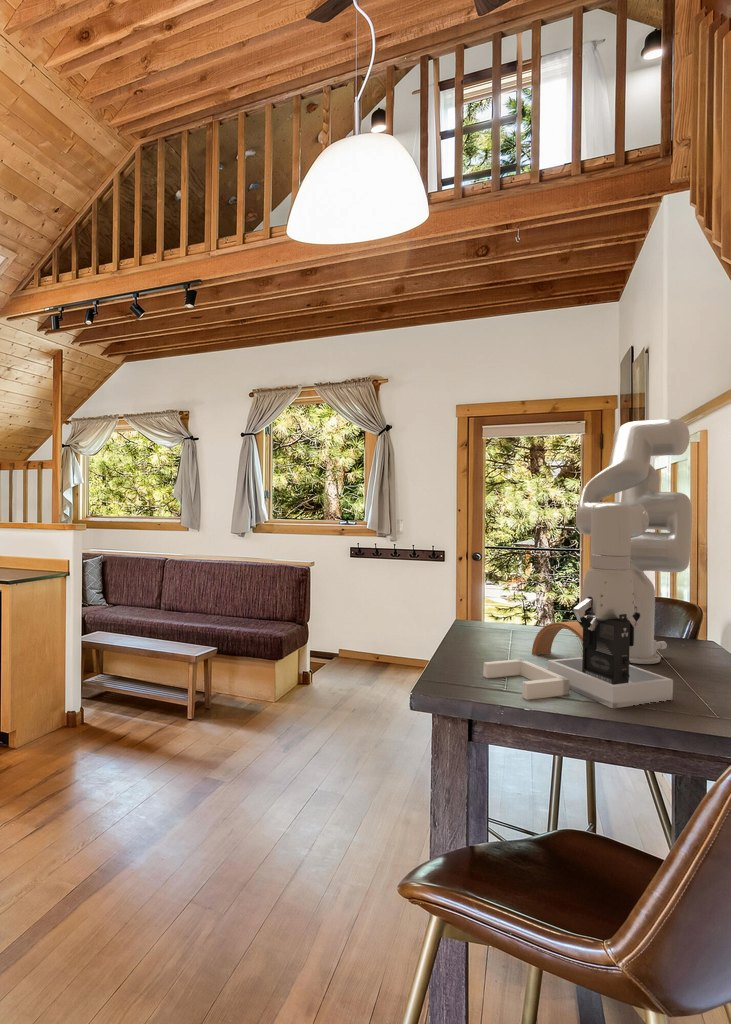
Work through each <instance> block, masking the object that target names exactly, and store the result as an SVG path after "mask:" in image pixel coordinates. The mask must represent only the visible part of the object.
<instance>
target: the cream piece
mask: <svg viewBox="0 0 731 1024" xmlns="http://www.w3.org/2000/svg"><path fill="white" fill-rule="evenodd" d="M482 669H483V671H482V672H483V673H482V676H483V677H484V678H486V679H492V678H495V679H496V678H503V677H511V676H512V677H513V676H514V677H515V676H522V677H524V678H526V679H528V680H527V681H526V680H525V681H524V680H523V681H522V687H521V688H522V691H521V698H523V699H525V700H527V701H528V700H536V699H544V698H553V697H562V696H569V695H570V689H569V679H567V678H565V677H563V676H560V675H558V674H556V673H553V672H551V671H549V670H547V669H546V668H544V667H541V666H540V665H537V664H534V663H532V662H530V661H527V660H526V659H523V658H518V659H507V660H496V661H484V662H483V668H482Z"/></svg>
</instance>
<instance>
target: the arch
mask: <svg viewBox="0 0 731 1024" xmlns="http://www.w3.org/2000/svg"><path fill="white" fill-rule="evenodd" d="M564 629H566V630H568V631H570V632H571V633H573V634H574V635H576V637H578V639H579V640H580V641H581V642H582V643H583V628H581V627H580V624H579V623H578V621H577V620H575V621H574V620H573V621H572V620H570V621H559V622H552V623H548V624H546V625H545V626H543V627H542V628H541V629H540V630H539V632H538V633H537V634H536V636H535V638H534V641H533V644H532V648H531V655H533V656H538V655H540V654H541V655H549V654H551V653H552V646H553V643H554V640H555V638H556V637H557V635H558V634H559V632H560V631H562V630H564ZM548 653H549V654H548Z"/></svg>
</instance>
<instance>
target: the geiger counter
mask: <svg viewBox="0 0 731 1024" xmlns="http://www.w3.org/2000/svg"><path fill="white" fill-rule="evenodd" d="M622 617H624V619H622ZM592 620H593V619H591V620H590V623H591V621H592ZM594 630H596V631H597V649H596V650H590V649H588V648H585V647H583V646H582V672H583V673H585V674H588V675H590V676H593V677H595V678H598V679H600V680H603V681H605V682H608V683H610V684H613V685H615V684H623V683H629V677H630V675H629V665H631V664H630V660H629V648H630V621H629V620H627V614H620V615H619V619H610V620H603V621H601V620H600V621H599V623H598V624H597V626H596V627H595V629H594Z"/></svg>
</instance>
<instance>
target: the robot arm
mask: <svg viewBox="0 0 731 1024" xmlns="http://www.w3.org/2000/svg"><path fill="white" fill-rule="evenodd" d="M612 436H613V437H612V441H613V442H612V443H613V444H612V448H611V449H612V450H611V454H610V458H609V462H608V466H607V467H606V468H604V469H602V470H601V471H599V473H596V475H595V476H593V477H592V478H591V479H590V480H589V481H588V482H587V483H586V484H585V485H584V487H583V489H582V491H581V492H580V497H579V500H578V503H577V508H576V511H575V526H576V528H577V530H578V532H580V533H581V534H582V535H585V536H589V537H590V553H589V554H590V556H589V557H590V558H589V569H586V572H585V576H584V580H583V585H582V586H583V587H582V593H581V594H582V596H581V602H580V603H578V604H577V605H576V606H575V607H573V608H572V610H573V613H574V616H575V617H576V618H575V619H576V620H575V621H578V623H579V624H580V627H581V628H583V642H582V648H583V647H585V648H588V649H590V650H596V649H597V631H596V630H594V629H595V627H596V626H597V624H598V623H599V621H600V620H601V621H603V620H610V619H619V615H620V614H627V620H629V621H630V648H629V660H630V663H631V664H638V665H654V664H658V663H659V664H660V662H661V655H660V654H658V653H657V651H658V650H665V649H667V647H668V644H667V642H666V641H664V640H662V641H661V640H660V641H657V640H656V639H655V613H656V611H655V610H656V608H655V607H656V606H655V605H656V589H655V586H654V584H653V582H652V581H651V579H650V578H649V577H648V576H647V574H646V573H645V572H649V571H650V572H662V573H665V572H666V573H681V572H684V571H686V570H687V569H688V568H689V567H688V566H689V564H690V560H691V543H692V526H693V525H692V521H693V509H692V503H691V500H690V498H689V496H688V495H687V494H685V493H683V492H678V491H660V482H661V481H660V478H661V477H660V474H659V473H658V471H657V470H656V469H655V467H654V466H653V465H652V464H651V457H658V456H659V457H661V456H681V455H683V454H684V453H685V452H686V451H687V449H688V447H689V444H690V437H691V436H690V431H689V427H688V425H687V424H686V422H685V421H683V420H679V419H676V418H662V419H648V420H634V421H628V422H626V423H623V424H622V425H621V426H619V427H618V428H617V429H616V430H615V431H614V433H613V435H612ZM618 493H621V497H620V498H621V499H620V502H618V501H602V500H603V499H605V498H607V497H609V496H611V495H614V494H618ZM647 530H655V532H653V531H647ZM657 530H659V531H661V530H662V531H668V532H656V531H657ZM591 619H593V620H592V621H591V623H590V620H591ZM622 619H624V617H622Z"/></svg>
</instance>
